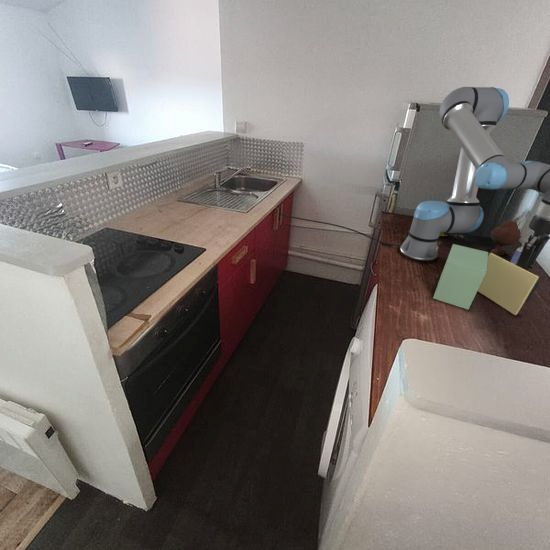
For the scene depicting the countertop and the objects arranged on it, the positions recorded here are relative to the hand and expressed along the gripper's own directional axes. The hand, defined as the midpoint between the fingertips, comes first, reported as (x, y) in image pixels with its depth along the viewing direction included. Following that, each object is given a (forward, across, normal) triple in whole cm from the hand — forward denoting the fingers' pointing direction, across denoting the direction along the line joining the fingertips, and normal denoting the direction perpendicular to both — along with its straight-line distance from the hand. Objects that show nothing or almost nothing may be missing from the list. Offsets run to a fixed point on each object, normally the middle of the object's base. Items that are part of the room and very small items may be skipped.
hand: (514, 283), depth 99 cm
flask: (+7, +29, +9) cm, 31 cm away
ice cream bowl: (+7, +38, +20) cm, 43 cm away
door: (+7, -2, +1) cm, 7 cm away
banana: (+7, +32, +44) cm, 55 cm away
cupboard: (+7, -12, +12) cm, 18 cm away
